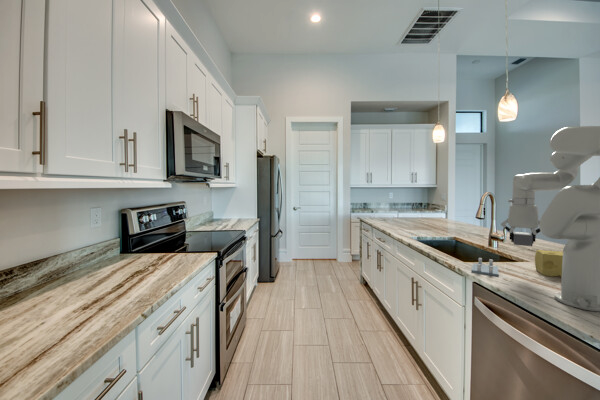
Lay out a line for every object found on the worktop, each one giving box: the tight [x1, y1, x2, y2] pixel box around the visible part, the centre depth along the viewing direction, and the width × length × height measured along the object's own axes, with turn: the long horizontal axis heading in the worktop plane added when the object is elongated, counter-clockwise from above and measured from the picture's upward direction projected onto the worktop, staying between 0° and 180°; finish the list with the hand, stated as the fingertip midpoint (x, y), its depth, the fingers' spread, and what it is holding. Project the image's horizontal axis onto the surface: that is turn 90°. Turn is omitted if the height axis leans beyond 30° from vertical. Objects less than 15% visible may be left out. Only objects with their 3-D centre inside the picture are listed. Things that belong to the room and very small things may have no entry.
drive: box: [512, 231, 534, 247], centre depth 116 cm, size 10×6×5 cm, turn 143°
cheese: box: [534, 249, 563, 278], centre depth 118 cm, size 10×11×10 cm
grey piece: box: [471, 257, 500, 277], centre depth 123 cm, size 14×10×4 cm
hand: (522, 241), depth 116 cm, fingers closed on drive, 6 cm apart
